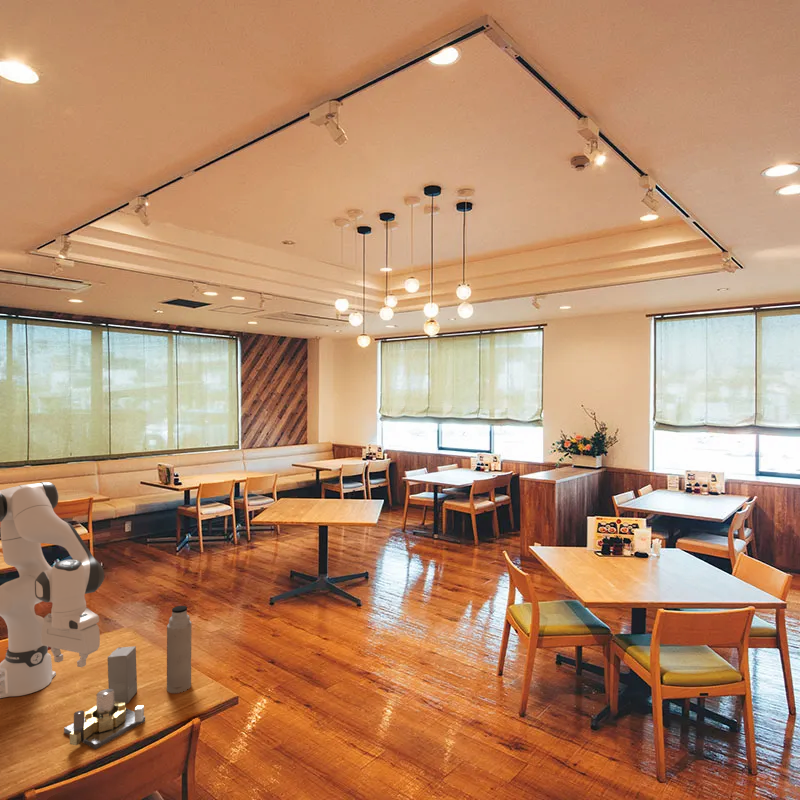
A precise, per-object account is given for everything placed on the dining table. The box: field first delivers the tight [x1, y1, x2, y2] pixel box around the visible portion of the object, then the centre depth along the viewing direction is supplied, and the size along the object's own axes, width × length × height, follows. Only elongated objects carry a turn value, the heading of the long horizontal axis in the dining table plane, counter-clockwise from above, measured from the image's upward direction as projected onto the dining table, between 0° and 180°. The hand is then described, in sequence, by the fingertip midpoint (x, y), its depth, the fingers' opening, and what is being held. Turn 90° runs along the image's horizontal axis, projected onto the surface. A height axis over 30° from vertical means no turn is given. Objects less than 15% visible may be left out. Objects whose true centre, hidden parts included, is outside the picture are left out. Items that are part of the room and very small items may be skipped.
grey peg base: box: [63, 688, 146, 750], centre depth 169 cm, size 18×16×10 cm
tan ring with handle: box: [69, 701, 127, 746], centre depth 167 cm, size 18×11×8 cm, turn 165°
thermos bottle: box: [166, 605, 192, 694], centre depth 193 cm, size 8×8×28 cm
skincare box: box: [107, 646, 138, 704], centre depth 186 cm, size 8×7×16 cm
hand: (70, 663), depth 162 cm, fingers open, 8 cm apart
